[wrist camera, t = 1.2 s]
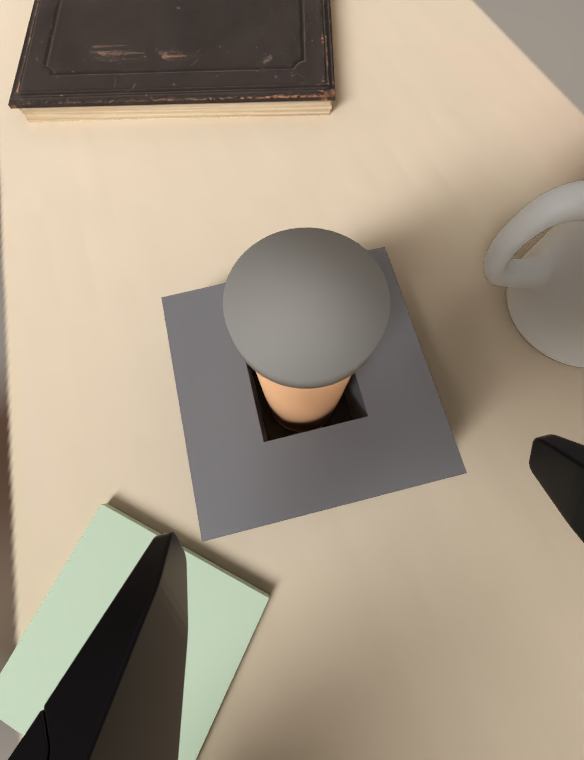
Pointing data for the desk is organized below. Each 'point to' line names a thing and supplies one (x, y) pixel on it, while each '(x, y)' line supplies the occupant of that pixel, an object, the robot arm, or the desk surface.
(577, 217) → the mug
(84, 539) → the mat
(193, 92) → the hardcover book
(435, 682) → the desk surface
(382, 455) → the grey peg hole block
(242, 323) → the plug
